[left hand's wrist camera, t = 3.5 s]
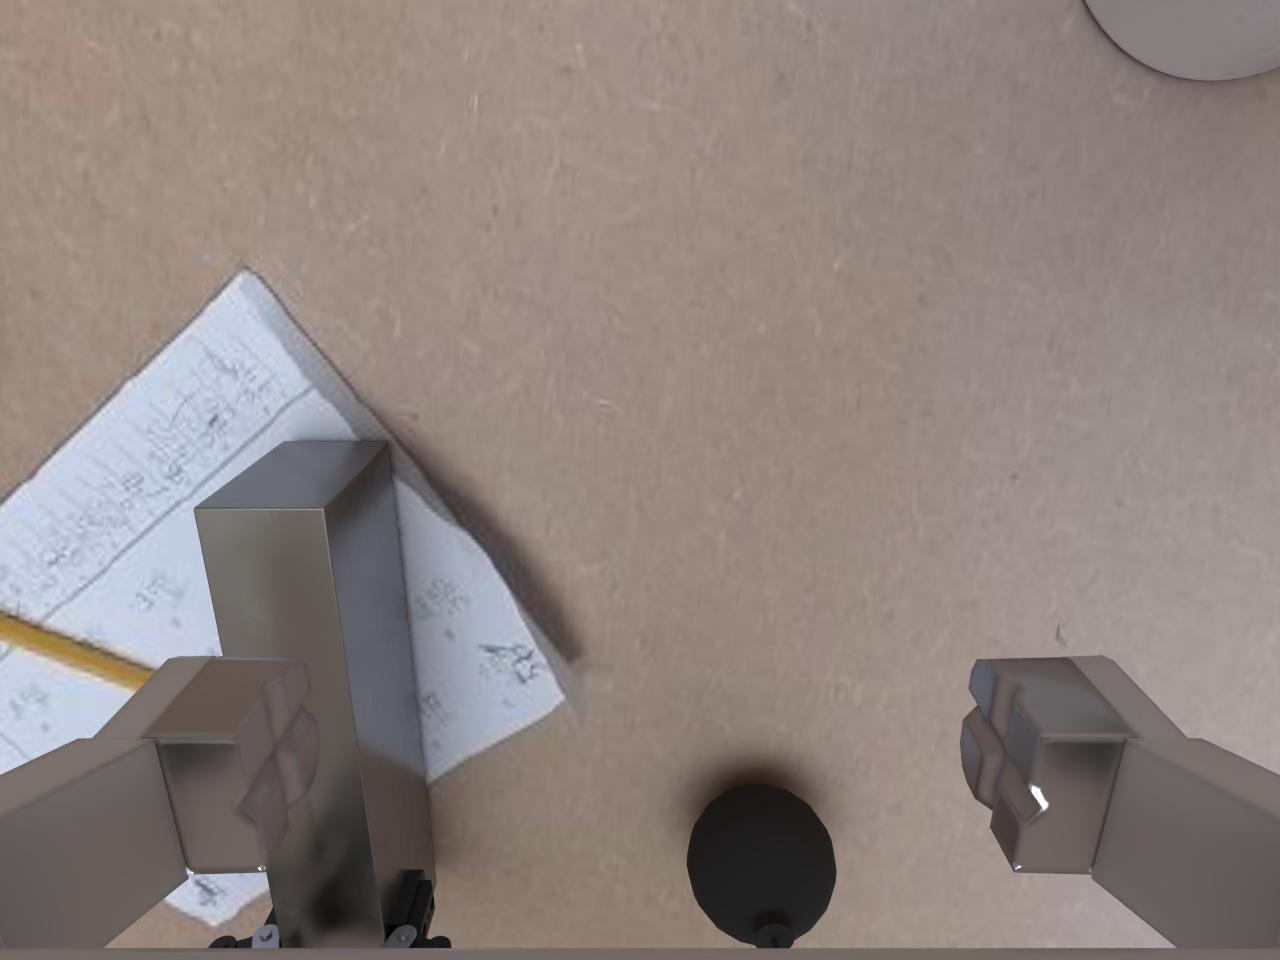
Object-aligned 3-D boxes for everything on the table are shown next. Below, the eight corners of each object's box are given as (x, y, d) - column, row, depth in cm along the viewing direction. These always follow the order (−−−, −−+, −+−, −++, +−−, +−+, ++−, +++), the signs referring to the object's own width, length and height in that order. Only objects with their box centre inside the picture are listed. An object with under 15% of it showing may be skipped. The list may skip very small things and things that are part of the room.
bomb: (759, 880, 51) (793, 1085, 39) (656, 817, 49) (661, 1013, 38) (847, 799, 48) (910, 991, 37) (742, 729, 47) (775, 910, 35)
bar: (283, 440, 40) (192, 507, 32) (388, 440, 40) (323, 507, 32) (351, 882, 49) (295, 1019, 41) (436, 882, 49) (396, 1019, 41)
